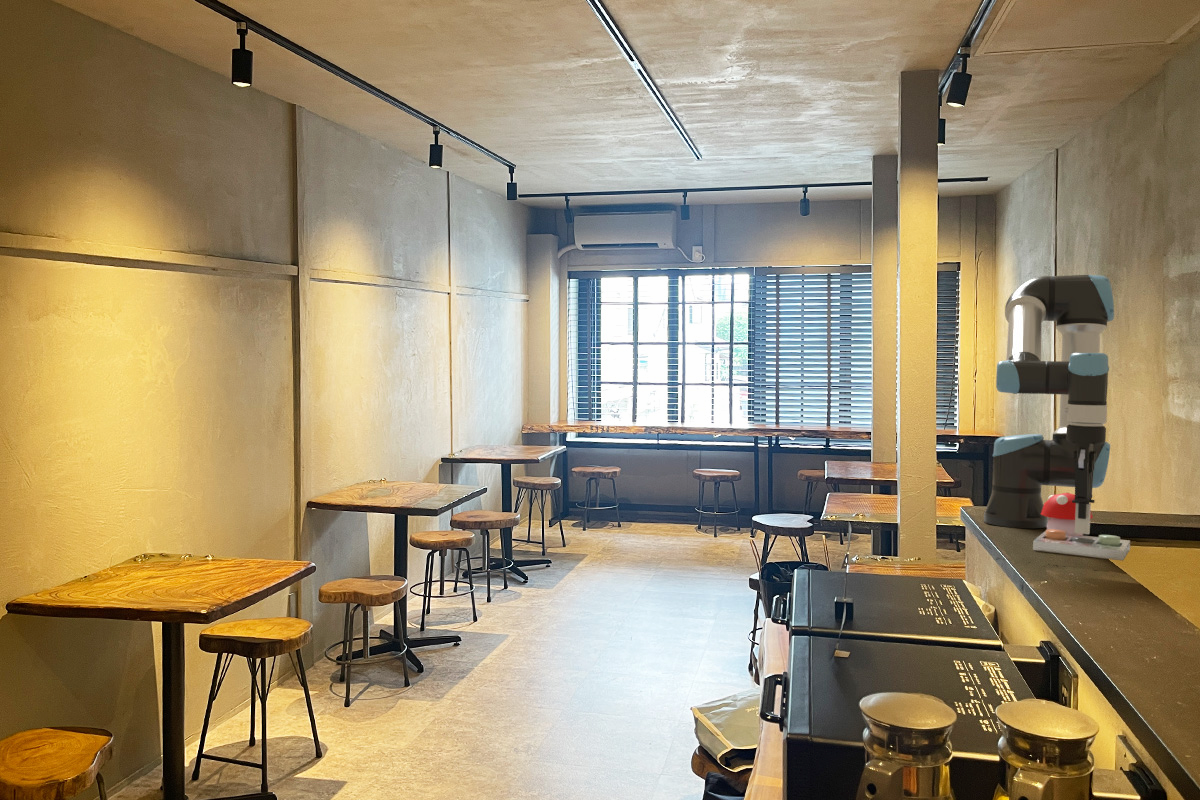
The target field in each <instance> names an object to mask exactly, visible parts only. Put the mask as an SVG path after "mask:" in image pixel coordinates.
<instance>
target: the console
mask: <svg viewBox="0 0 1200 800" xmlns="http://www.w3.org/2000/svg"><path fill="white" fill-rule="evenodd" d="M1045 535H1046V531H1043V532H1042V533H1041V534H1040V535H1038V536H1037V537H1035V539H1034V540H1033V543H1032V550H1033V551H1036V552H1037V551H1038V552H1046V553H1053V554H1055V553H1056V554H1063V555H1072V556H1081V557H1088V558H1098V559H1107V560H1115V561H1123V562H1124V560H1125V558H1126V557H1127V555H1128V554H1129V552H1130V551H1131V540H1129V539H1128V540H1127V539H1120V547H1119V546H1110V545H1101V544H1099V536H1090V535H1084V534H1083V535H1073V534H1066V541H1064V540H1055V539H1046V538H1045ZM1076 536H1077V537H1088V538H1092V539H1093V540H1092V544H1091V543H1082V542H1073V541H1072V537H1076Z"/></svg>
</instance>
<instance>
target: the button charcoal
mask: <svg viewBox="0 0 1200 800" xmlns="http://www.w3.org/2000/svg"><path fill="white" fill-rule="evenodd" d="M1092 540H1093V539H1092V538H1088V537H1077V536H1076V537H1072V541H1073V542H1082V543H1091V544H1092Z"/></svg>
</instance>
